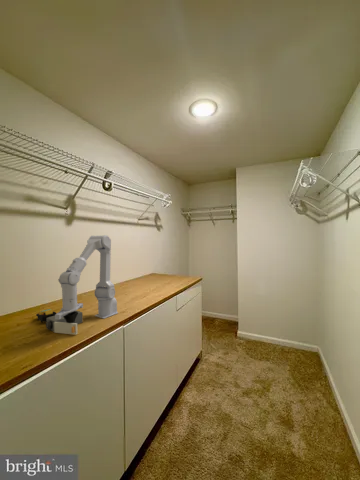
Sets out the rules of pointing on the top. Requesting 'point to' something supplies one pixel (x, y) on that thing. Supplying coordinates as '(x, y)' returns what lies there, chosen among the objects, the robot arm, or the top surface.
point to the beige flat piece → (65, 327)
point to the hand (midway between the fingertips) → (70, 329)
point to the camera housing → (62, 320)
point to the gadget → (45, 315)
